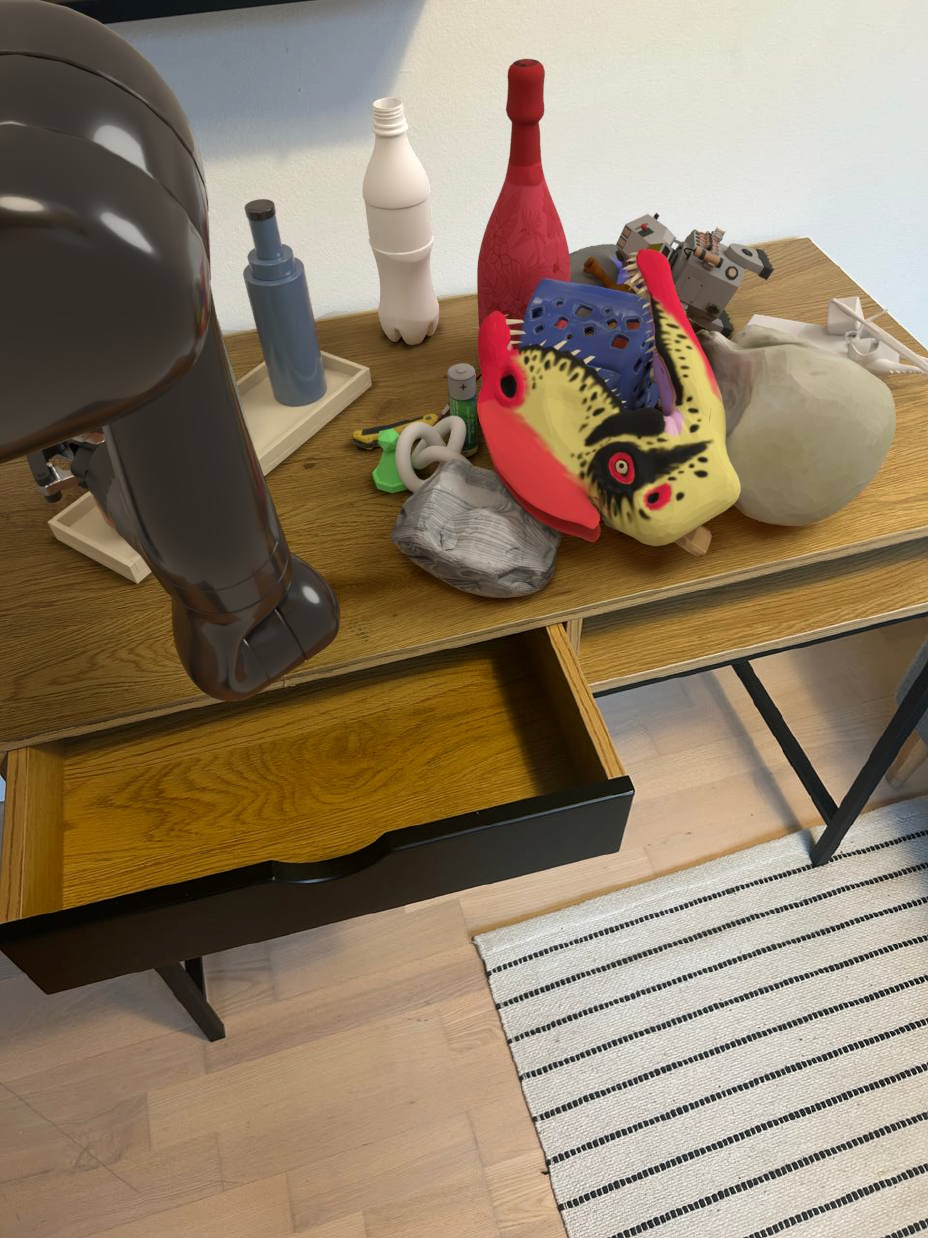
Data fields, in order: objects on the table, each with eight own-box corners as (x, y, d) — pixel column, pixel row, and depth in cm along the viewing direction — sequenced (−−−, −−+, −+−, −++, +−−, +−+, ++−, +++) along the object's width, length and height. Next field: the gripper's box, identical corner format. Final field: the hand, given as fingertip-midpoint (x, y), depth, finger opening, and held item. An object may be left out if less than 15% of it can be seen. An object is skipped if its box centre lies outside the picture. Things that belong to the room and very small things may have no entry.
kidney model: (539, 299, 95) (561, 198, 104) (527, 348, 101) (549, 249, 110) (674, 330, 95) (685, 227, 104) (653, 378, 101) (666, 277, 110)
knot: (490, 476, 86) (501, 431, 82) (447, 520, 81) (456, 475, 77) (428, 442, 88) (436, 396, 83) (383, 483, 83) (388, 437, 79)
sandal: (574, 431, 78) (541, 477, 79) (700, 525, 70) (661, 574, 71) (607, 453, 83) (576, 495, 85) (728, 543, 75) (692, 588, 76)
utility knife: (492, 388, 92) (504, 403, 91) (492, 398, 93) (504, 413, 92) (350, 431, 89) (360, 447, 87) (352, 441, 90) (362, 457, 88)
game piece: (424, 478, 85) (420, 429, 81) (391, 499, 83) (384, 450, 79) (397, 459, 87) (391, 410, 83) (364, 478, 86) (355, 429, 81)
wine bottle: (532, 327, 102) (538, 34, 80) (583, 365, 97) (606, 62, 74) (463, 355, 99) (449, 58, 76) (512, 396, 94) (512, 89, 71)
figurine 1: (756, 227, 99) (642, 180, 95) (780, 278, 92) (657, 230, 87) (712, 295, 105) (603, 255, 101) (731, 349, 98) (615, 307, 94)
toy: (664, 216, 73) (440, 291, 75) (779, 491, 64) (524, 569, 66) (659, 273, 80) (455, 340, 81) (763, 528, 71) (532, 597, 73)
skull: (615, 416, 85) (783, 486, 90) (651, 495, 70) (850, 574, 75) (695, 269, 77) (874, 354, 82) (754, 323, 63) (968, 424, 67)
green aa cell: (433, 428, 87) (461, 393, 84) (430, 425, 87) (458, 390, 84) (459, 404, 93) (486, 370, 90) (456, 401, 93) (483, 368, 90)
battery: (465, 460, 87) (461, 380, 80) (446, 449, 88) (441, 369, 81) (483, 448, 88) (481, 367, 81) (465, 437, 89) (461, 357, 82)
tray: (137, 584, 78) (128, 566, 76) (56, 539, 82) (46, 521, 80) (372, 385, 96) (369, 367, 94) (296, 357, 100) (292, 339, 99)
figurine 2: (719, 385, 95) (966, 437, 84) (727, 319, 89) (994, 366, 79) (756, 331, 102) (990, 374, 91) (766, 266, 96) (1017, 303, 85)
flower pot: (623, 484, 85) (663, 400, 90) (623, 385, 74) (670, 295, 79) (502, 452, 90) (547, 374, 95) (486, 354, 79) (537, 272, 84)
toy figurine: (627, 373, 99) (655, 335, 102) (646, 360, 96) (674, 321, 98) (553, 299, 97) (583, 262, 99) (569, 282, 93) (600, 244, 96)
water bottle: (370, 344, 102) (338, 112, 82) (396, 313, 106) (370, 86, 87) (426, 354, 100) (405, 120, 80) (450, 322, 104) (435, 93, 85)
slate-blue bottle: (268, 406, 93) (219, 220, 78) (279, 374, 97) (235, 191, 81) (322, 406, 93) (285, 219, 77) (331, 374, 96) (297, 190, 81)
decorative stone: (588, 583, 73) (527, 626, 81) (552, 444, 77) (497, 498, 85) (436, 581, 66) (386, 628, 74) (406, 428, 70) (362, 488, 78)
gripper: (231, 419, 65) (143, 329, 74) (44, 502, 59) (-25, 393, 69) (254, 495, 70) (170, 402, 79) (86, 576, 65) (17, 467, 74)
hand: (80, 398), depth 74 cm, fingers closed on amber bottle, 6 cm apart
